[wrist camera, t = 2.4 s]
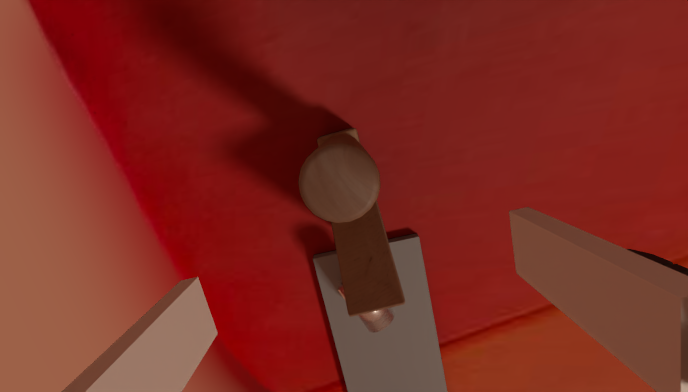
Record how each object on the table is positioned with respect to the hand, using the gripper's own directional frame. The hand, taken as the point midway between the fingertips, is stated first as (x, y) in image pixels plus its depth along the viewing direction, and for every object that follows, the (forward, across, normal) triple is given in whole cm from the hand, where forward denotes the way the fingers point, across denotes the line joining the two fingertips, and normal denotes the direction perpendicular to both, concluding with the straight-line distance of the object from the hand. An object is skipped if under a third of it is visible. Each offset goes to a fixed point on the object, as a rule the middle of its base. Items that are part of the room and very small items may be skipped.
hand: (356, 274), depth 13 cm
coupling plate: (+19, 0, -20) cm, 28 cm away
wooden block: (+19, 0, 0) cm, 19 cm away
